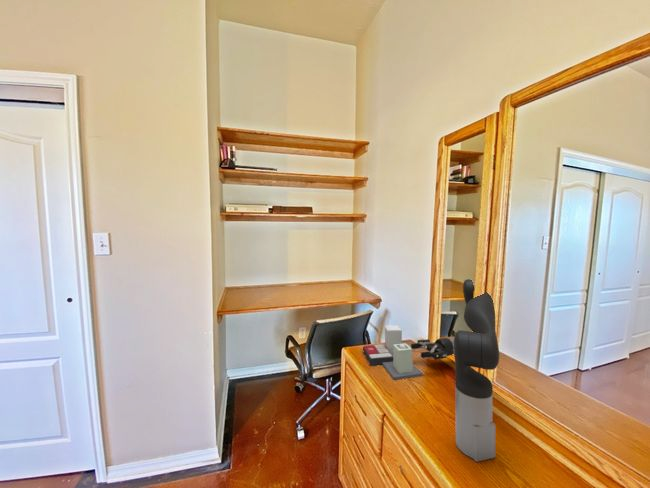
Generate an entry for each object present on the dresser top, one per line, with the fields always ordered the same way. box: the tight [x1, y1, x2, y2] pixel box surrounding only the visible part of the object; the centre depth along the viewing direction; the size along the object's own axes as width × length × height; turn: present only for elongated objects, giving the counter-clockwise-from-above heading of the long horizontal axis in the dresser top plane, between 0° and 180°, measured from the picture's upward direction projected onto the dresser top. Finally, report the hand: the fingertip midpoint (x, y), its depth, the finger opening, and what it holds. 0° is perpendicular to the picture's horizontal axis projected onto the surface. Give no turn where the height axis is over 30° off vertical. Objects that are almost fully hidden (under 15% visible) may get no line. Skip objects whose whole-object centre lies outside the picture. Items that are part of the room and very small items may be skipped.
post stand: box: [381, 343, 424, 381], centre depth 119 cm, size 14×13×12 cm
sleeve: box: [392, 342, 413, 374], centre depth 117 cm, size 6×6×10 cm
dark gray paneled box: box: [362, 343, 393, 367], centre depth 131 cm, size 11×4×15 cm
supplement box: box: [384, 324, 403, 356], centre depth 136 cm, size 7×7×13 cm
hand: (416, 350), depth 118 cm, fingers open, 8 cm apart
